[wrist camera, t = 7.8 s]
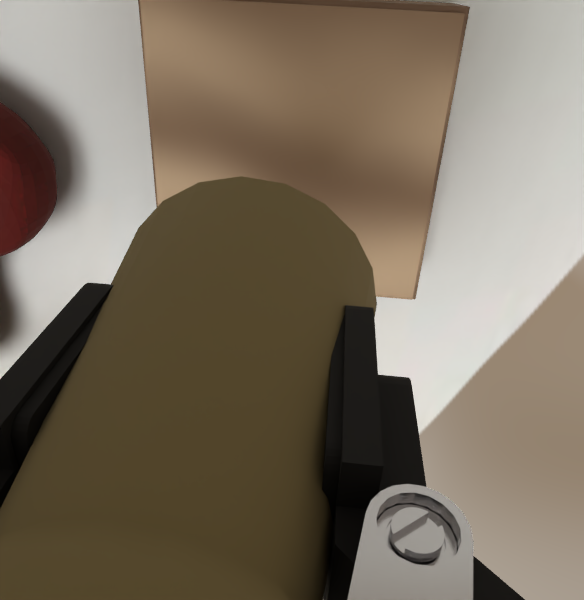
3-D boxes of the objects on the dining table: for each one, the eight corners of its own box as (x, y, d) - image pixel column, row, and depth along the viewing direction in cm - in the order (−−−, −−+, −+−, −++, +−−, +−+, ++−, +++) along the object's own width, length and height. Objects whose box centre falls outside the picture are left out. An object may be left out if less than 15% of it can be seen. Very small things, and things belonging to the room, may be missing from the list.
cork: (103, 173, 12) (-959, 984, 2) (386, 178, 11) (574, 1287, 2) (146, 391, 15) (-225, 1122, 5) (369, 403, 14) (402, 1242, 5)
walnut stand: (166, -12, 23) (133, -11, 19) (453, 3, 22) (471, 7, 19) (183, 246, 29) (160, 281, 26) (408, 264, 28) (416, 303, 25)
